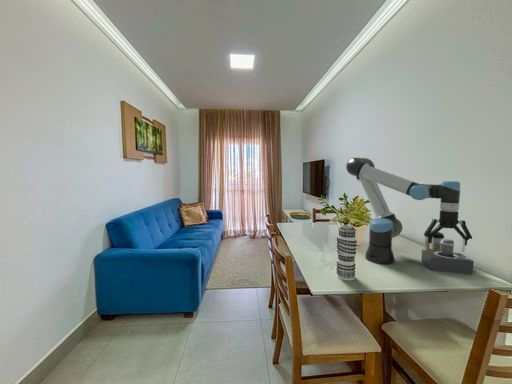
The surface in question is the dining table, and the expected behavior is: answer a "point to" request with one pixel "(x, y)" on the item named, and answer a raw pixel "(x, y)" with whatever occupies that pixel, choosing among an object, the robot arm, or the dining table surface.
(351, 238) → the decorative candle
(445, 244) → the lens
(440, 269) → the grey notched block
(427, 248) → the coffee cup
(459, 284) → the dining table surface
